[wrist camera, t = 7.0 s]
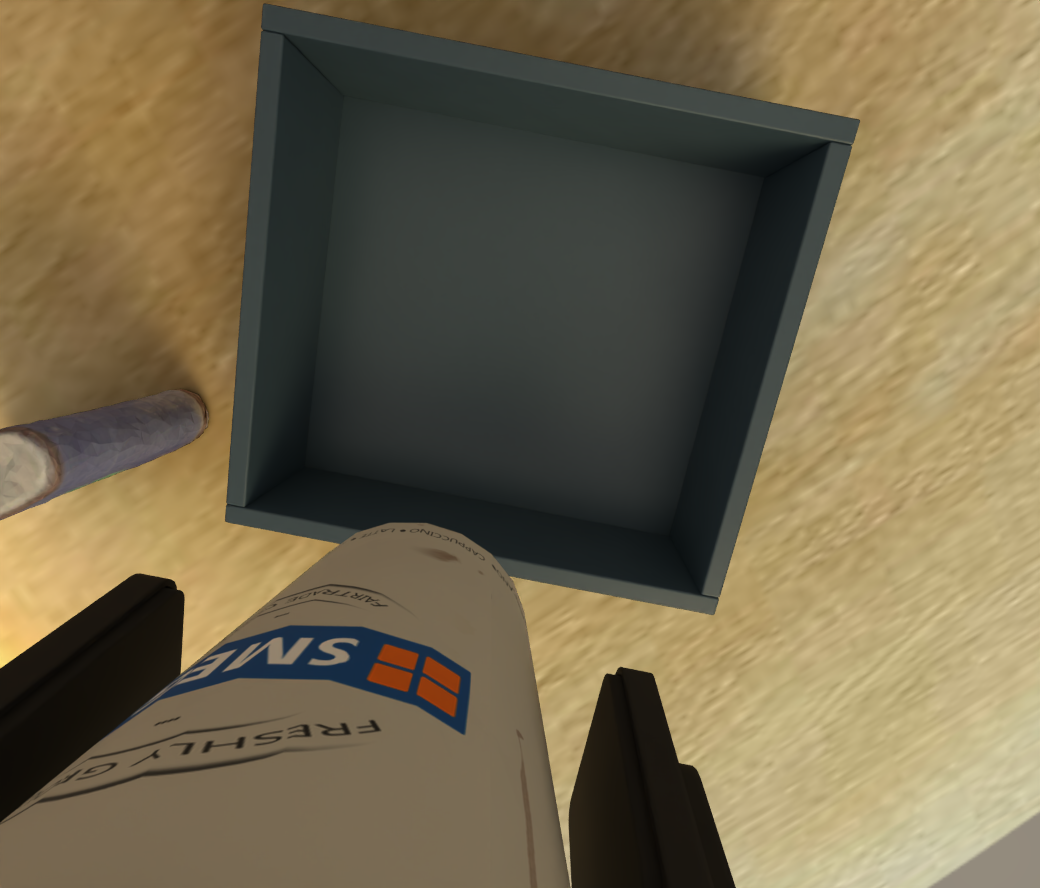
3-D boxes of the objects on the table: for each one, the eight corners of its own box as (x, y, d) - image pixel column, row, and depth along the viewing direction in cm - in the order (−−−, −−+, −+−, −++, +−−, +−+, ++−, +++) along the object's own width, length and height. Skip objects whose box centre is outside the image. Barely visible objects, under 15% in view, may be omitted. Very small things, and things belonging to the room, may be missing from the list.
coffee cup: (604, 748, 13) (793, 2142, 3) (294, 781, 13) (-348, 2068, 4) (558, 438, 11) (665, 1437, 1) (203, 490, 12) (-1430, 1484, 2)
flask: (199, 380, 26) (-27, 434, 16) (223, 443, 27) (22, 534, 17) (14, 431, 27) (-314, 514, 17) (42, 491, 28) (-256, 606, 17)
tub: (334, 78, 23) (261, 1, 17) (781, 165, 23) (861, 119, 17) (293, 474, 27) (223, 522, 21) (677, 547, 27) (715, 616, 21)
